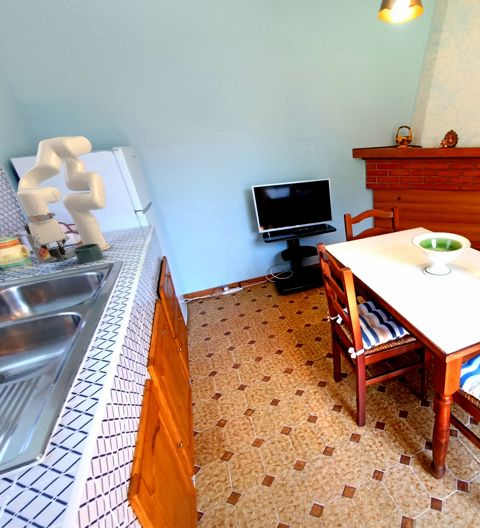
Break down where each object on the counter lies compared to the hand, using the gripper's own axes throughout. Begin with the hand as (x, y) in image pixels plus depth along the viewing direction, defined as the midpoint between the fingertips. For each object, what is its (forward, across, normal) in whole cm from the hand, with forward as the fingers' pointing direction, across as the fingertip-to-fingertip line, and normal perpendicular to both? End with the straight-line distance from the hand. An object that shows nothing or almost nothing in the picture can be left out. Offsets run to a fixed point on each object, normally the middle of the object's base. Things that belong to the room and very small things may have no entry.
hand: (58, 255), depth 142 cm
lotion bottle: (+7, 0, -20) cm, 22 cm away
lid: (+1, 0, 0) cm, 1 cm away
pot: (+7, -11, +1) cm, 13 cm away
